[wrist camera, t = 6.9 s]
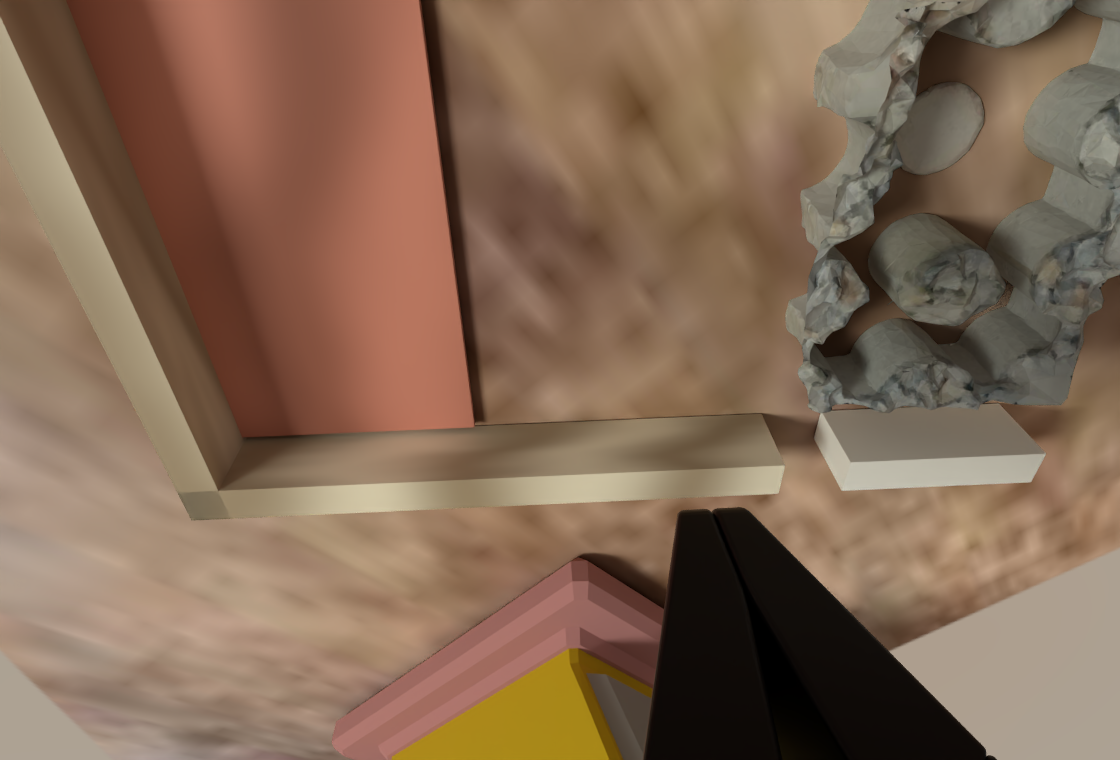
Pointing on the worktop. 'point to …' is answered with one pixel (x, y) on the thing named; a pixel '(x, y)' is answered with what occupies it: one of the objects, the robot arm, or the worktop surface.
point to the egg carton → (937, 247)
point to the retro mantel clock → (526, 682)
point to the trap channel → (295, 264)
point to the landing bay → (926, 447)
